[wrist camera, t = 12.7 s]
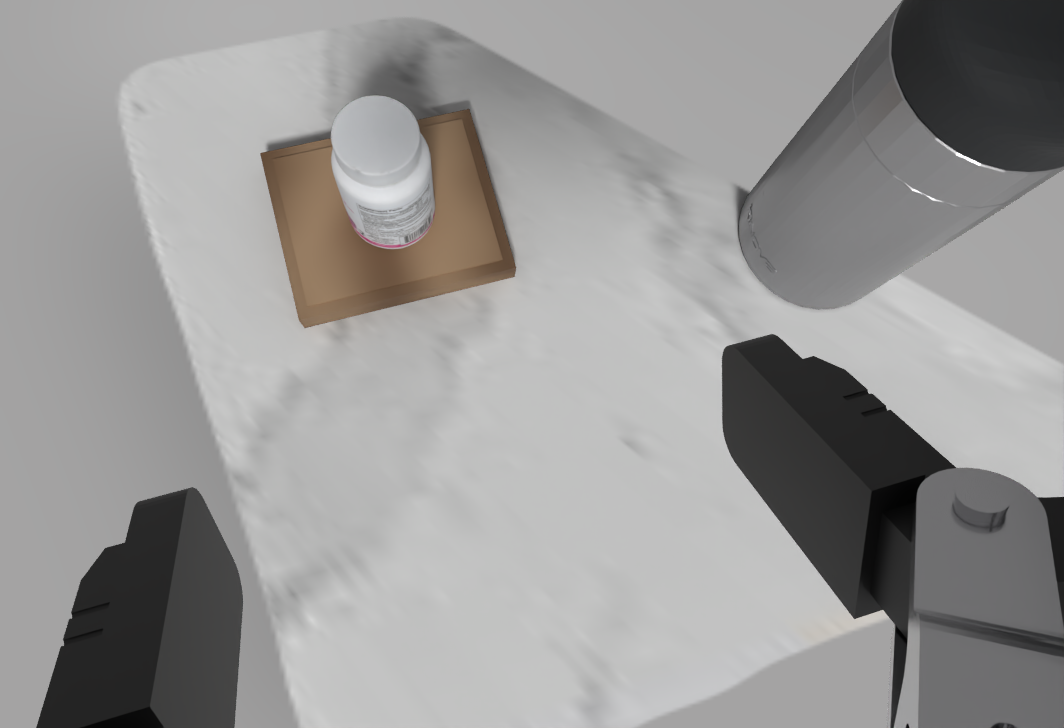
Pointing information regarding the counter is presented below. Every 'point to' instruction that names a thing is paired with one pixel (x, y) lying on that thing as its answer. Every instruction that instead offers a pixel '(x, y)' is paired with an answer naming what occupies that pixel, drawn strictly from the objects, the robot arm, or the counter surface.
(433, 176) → the walnut tray
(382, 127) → the pill bottle
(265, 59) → the counter surface
